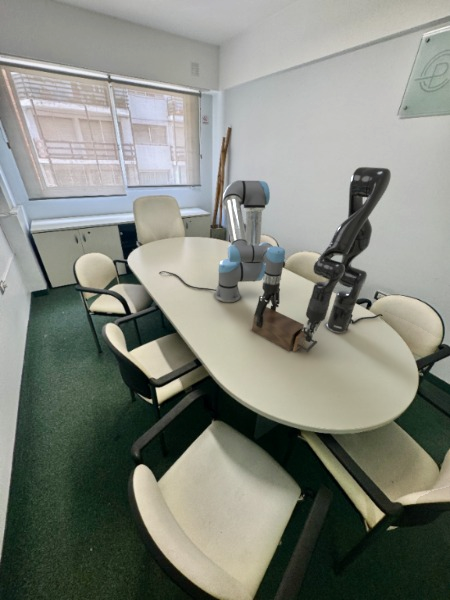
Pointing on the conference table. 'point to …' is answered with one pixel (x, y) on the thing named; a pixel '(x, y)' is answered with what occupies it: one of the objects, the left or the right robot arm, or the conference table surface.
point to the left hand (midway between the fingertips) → (265, 321)
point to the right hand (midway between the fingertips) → (308, 340)
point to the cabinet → (277, 328)
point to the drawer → (301, 341)
